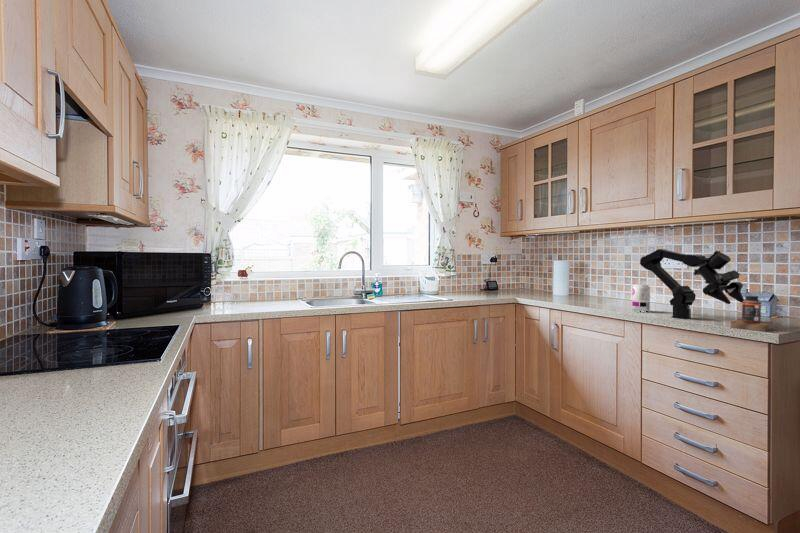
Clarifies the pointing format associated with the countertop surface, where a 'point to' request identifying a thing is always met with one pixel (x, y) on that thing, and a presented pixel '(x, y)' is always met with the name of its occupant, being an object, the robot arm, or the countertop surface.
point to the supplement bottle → (751, 309)
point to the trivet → (751, 325)
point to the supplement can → (641, 297)
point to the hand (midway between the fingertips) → (736, 303)
